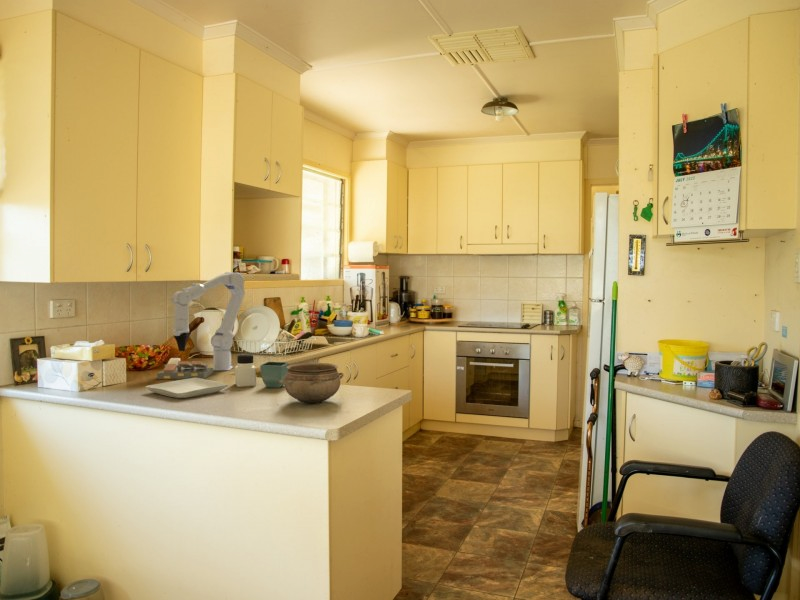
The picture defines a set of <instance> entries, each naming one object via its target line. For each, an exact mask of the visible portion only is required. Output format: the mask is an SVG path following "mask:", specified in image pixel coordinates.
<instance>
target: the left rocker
mask: <svg viewBox="0 0 800 600" xmlns="http://www.w3.org/2000/svg"><path fill="white" fill-rule="evenodd" d="M178 361H182V359H181V357H171V358H170V359H169V360H168V362H167V364H165V365H166V367H165V368H164V367H163V370H164V372H174V371H175V369H176V368H177V365H178Z"/></svg>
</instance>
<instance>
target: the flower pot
mask: <svg viewBox="0 0 800 600" xmlns="http://www.w3.org/2000/svg"><path fill="white" fill-rule="evenodd" d="M289 365H290V362H287V361H284V362H283V361H267V362H265V363H262V364H260V365H259V367H260V376H261V379H262V382H263V384H264V385H265V387H266V388H277V389H279V388H281V387H284V385H283V384H281V383H279V381H280V380H282V381H284V380H285V376H286V374H287V371H288V369H287V368H286V367H287V366H289Z"/></svg>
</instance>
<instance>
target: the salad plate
mask: <svg viewBox="0 0 800 600" xmlns="http://www.w3.org/2000/svg"><path fill="white" fill-rule="evenodd" d="M227 387H228V383H224V382H220V381H215V380H210V379H206V378H205V379H200V378H190V379H176V380H171V381H167V382H166V381H165V382H162V383H155V384H150V385H145V388H146V389H147V390H148V391H150V392H152V393H154V394H158V395H161V396H166V397H170V398H175V399H189V398H192V397H198V396H204V395H205V396H206V395H210V394H214V393H218V392H220V391H222V390H225V389H226V388H227Z"/></svg>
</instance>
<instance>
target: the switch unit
mask: <svg viewBox="0 0 800 600" xmlns="http://www.w3.org/2000/svg"><path fill="white" fill-rule="evenodd" d="M166 365H167V364H164V365H163V370H160V371H159V372H157V373H156V375H157V380H175V379H176V380H183V379H190V378H200V379H206V378H208V377H209V376H211V375H213V374H214V370H213V368H214V367H208V364H206V365H204V368H197V367H195V366H193V365H191V368H183V367H182V366H180V365H177V368H176V369H175V371H174V372H164V368H165V367H166Z"/></svg>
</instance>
